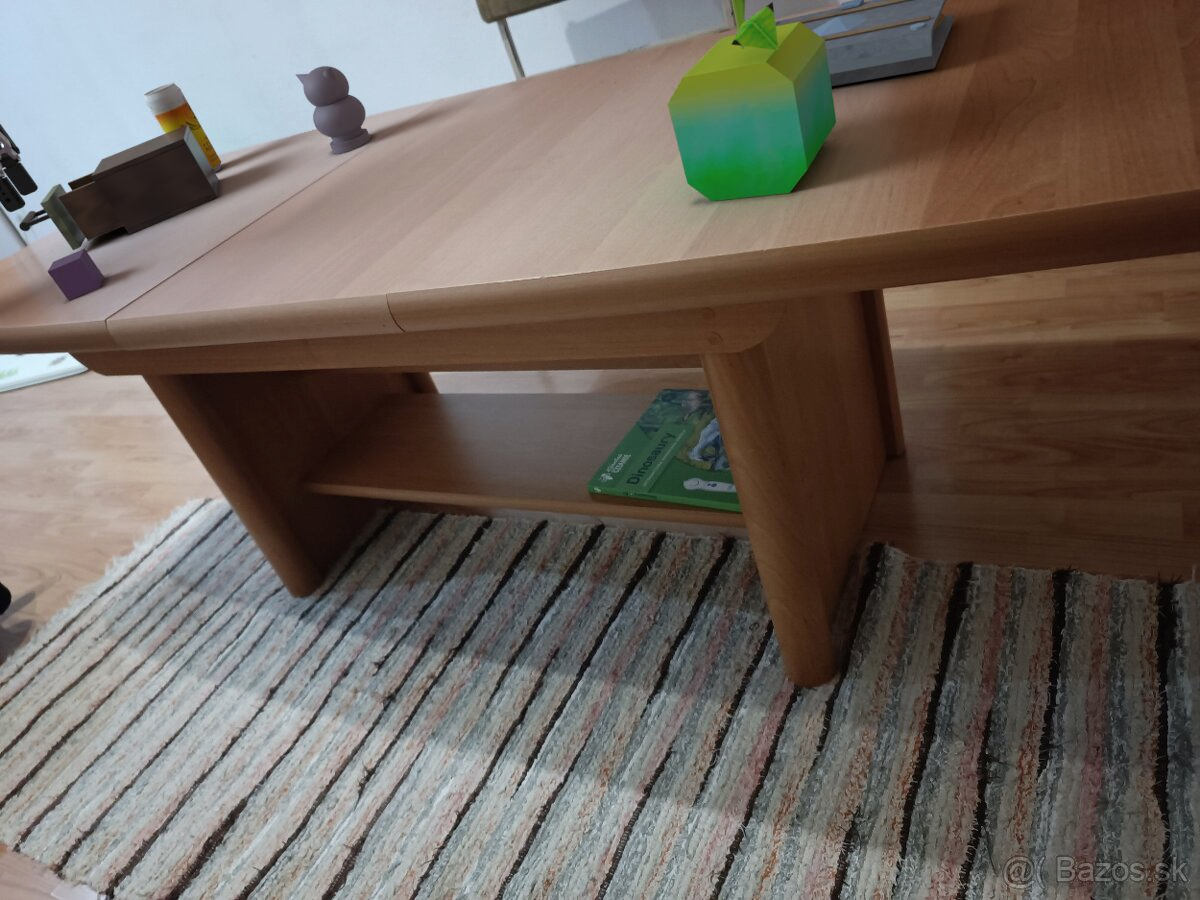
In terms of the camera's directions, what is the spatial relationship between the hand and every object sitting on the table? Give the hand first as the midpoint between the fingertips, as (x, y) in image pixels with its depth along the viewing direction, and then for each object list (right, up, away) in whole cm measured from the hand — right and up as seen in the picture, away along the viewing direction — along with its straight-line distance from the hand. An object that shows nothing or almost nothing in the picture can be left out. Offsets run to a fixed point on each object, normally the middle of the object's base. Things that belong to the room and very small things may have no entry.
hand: (24, 200), depth 110 cm
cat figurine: (+34, +17, +28) cm, 47 cm away
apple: (+88, -7, -32) cm, 94 cm away
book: (+100, +10, -15) cm, 101 cm away
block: (+4, -10, +7) cm, 13 cm away
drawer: (-7, +4, +29) cm, 30 cm away
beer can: (+3, +18, +45) cm, 48 cm away
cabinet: (+4, +8, +31) cm, 33 cm away
